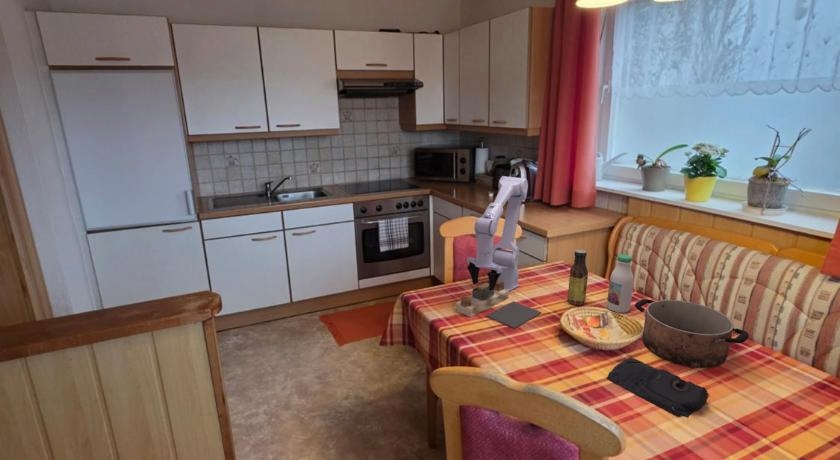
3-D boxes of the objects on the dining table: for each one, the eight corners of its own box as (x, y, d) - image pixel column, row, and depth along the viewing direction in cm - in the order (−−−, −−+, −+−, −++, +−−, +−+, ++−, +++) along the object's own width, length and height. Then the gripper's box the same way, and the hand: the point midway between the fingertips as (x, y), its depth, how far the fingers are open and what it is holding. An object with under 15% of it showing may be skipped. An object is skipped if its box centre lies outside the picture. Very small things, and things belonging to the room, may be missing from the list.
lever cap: (484, 291, 169) (484, 281, 168) (494, 295, 166) (494, 284, 165) (472, 296, 165) (472, 286, 164) (481, 300, 162) (482, 290, 161)
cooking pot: (616, 340, 142) (620, 309, 139) (650, 319, 155) (654, 290, 152) (724, 385, 119) (732, 349, 116) (753, 356, 133) (760, 323, 130)
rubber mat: (513, 302, 168) (513, 301, 167) (541, 313, 159) (541, 312, 159) (485, 316, 157) (485, 315, 157) (514, 328, 149) (514, 327, 148)
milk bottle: (625, 304, 166) (632, 252, 160) (633, 313, 158) (640, 260, 153) (603, 303, 167) (610, 252, 161) (610, 313, 159) (616, 259, 154)
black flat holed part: (631, 360, 132) (633, 345, 130) (714, 398, 115) (717, 382, 113) (601, 379, 123) (603, 364, 121) (686, 424, 106) (689, 406, 105)
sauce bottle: (586, 306, 164) (591, 255, 158) (568, 305, 165) (573, 254, 160) (583, 299, 170) (589, 249, 164) (566, 297, 171) (571, 248, 166)
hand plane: (493, 292, 176) (494, 278, 174) (508, 298, 171) (509, 283, 170) (455, 310, 161) (455, 295, 160) (470, 317, 157) (470, 301, 155)
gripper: (461, 248, 163) (461, 283, 167) (494, 258, 153) (492, 295, 157) (474, 244, 168) (473, 278, 171) (506, 253, 158) (504, 289, 161)
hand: (483, 286), depth 164 cm, fingers open, 7 cm apart
